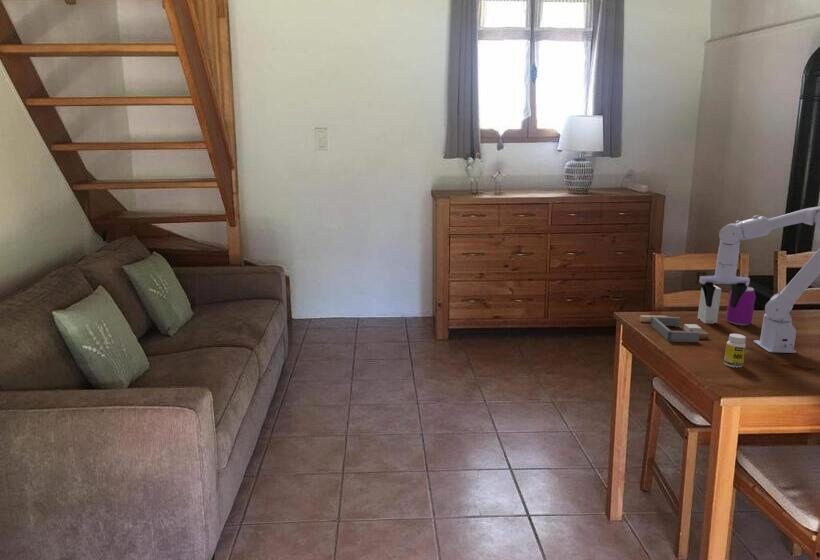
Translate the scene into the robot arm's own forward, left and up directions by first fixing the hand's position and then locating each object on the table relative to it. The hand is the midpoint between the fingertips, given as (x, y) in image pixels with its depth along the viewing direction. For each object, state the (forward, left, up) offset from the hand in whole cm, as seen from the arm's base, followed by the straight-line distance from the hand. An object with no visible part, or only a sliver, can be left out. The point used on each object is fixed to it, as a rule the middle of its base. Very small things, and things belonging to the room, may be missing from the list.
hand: (720, 306), depth 199 cm
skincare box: (+16, -4, -10) cm, 19 cm away
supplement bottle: (-25, +6, -10) cm, 28 cm away
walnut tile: (-1, +6, -10) cm, 12 cm away
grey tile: (+5, +6, -10) cm, 12 cm away
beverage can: (+15, -14, -10) cm, 23 cm away
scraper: (+14, +13, -10) cm, 22 cm away
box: (+2, +13, -10) cm, 16 cm away
